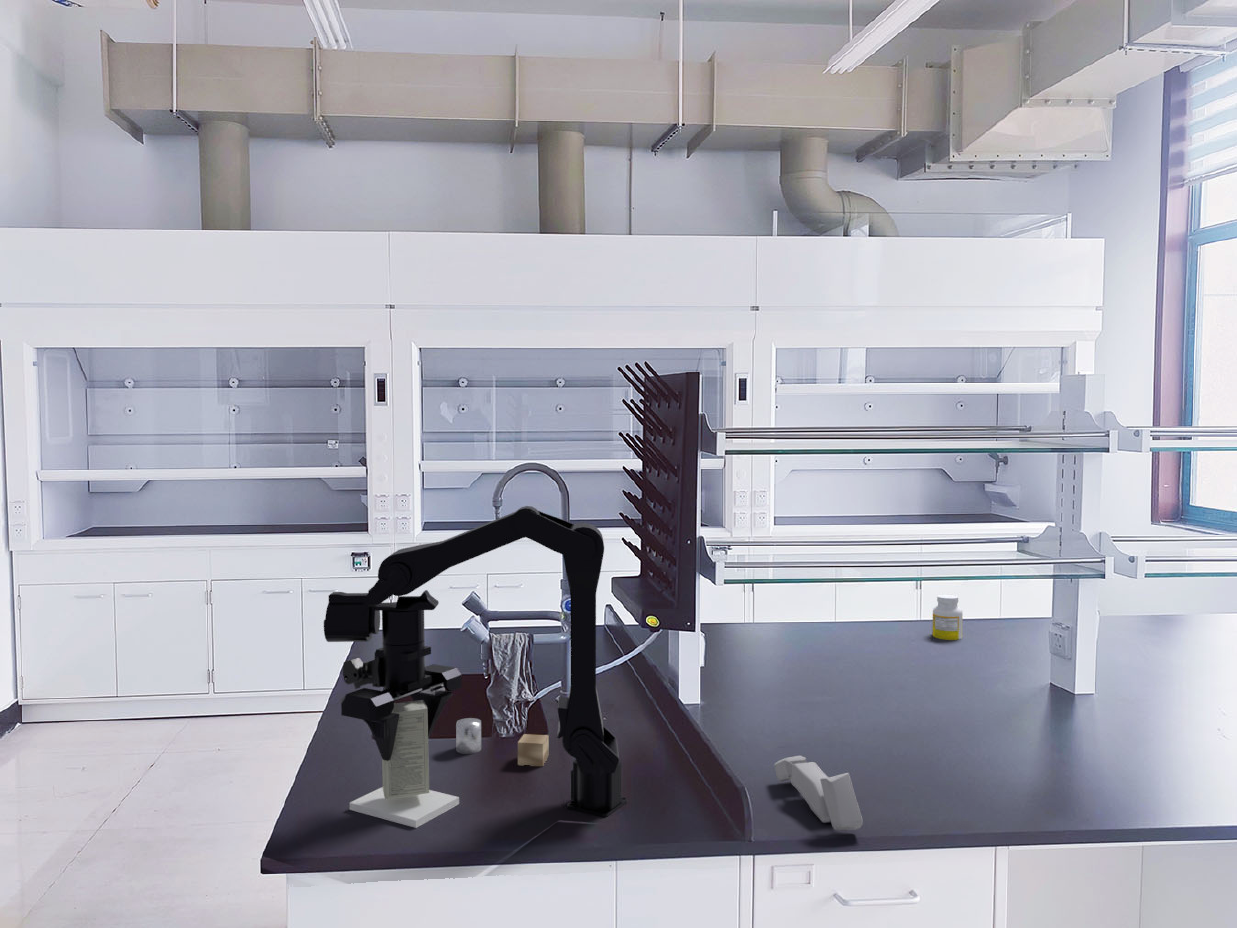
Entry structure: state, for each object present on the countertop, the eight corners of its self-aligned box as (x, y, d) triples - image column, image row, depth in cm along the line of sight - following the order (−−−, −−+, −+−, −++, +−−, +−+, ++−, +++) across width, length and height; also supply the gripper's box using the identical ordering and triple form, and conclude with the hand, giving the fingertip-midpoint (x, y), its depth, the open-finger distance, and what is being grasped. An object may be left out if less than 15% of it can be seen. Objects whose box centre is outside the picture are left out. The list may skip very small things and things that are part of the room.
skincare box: (425, 783, 137) (425, 699, 136) (429, 794, 132) (429, 707, 132) (380, 788, 135) (380, 703, 134) (383, 800, 130) (382, 712, 130)
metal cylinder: (486, 750, 157) (486, 720, 156) (471, 758, 153) (470, 727, 153) (466, 746, 159) (466, 716, 158) (451, 753, 155) (451, 723, 155)
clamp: (865, 833, 125) (864, 781, 124) (839, 837, 124) (838, 784, 123) (796, 784, 144) (796, 739, 144) (773, 786, 143) (773, 741, 143)
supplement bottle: (941, 645, 230) (942, 592, 229) (967, 651, 225) (968, 596, 224) (926, 650, 225) (927, 596, 225) (952, 655, 220) (953, 600, 220)
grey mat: (459, 804, 135) (459, 797, 135) (416, 827, 127) (416, 820, 127) (394, 787, 141) (394, 781, 140) (349, 809, 133) (349, 802, 133)
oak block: (548, 760, 153) (548, 735, 152) (542, 769, 149) (542, 743, 148) (524, 758, 153) (524, 734, 153) (517, 767, 149) (517, 742, 149)
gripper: (405, 622, 145) (406, 724, 145) (310, 648, 128) (312, 762, 129) (463, 630, 139) (464, 735, 140) (372, 658, 123) (374, 777, 124)
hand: (405, 751), depth 133 cm, fingers closed on skincare box, 7 cm apart
